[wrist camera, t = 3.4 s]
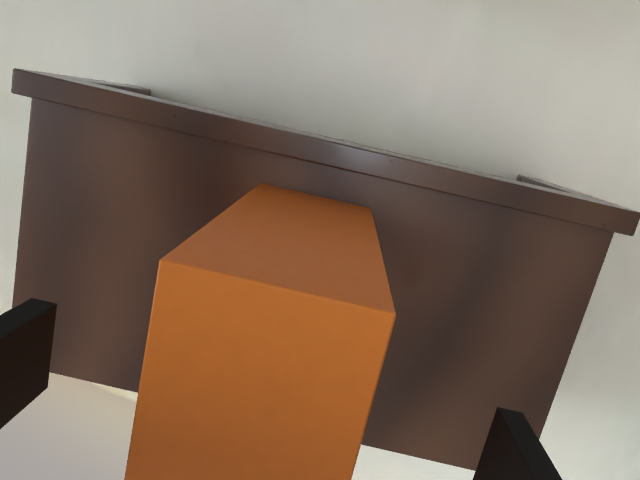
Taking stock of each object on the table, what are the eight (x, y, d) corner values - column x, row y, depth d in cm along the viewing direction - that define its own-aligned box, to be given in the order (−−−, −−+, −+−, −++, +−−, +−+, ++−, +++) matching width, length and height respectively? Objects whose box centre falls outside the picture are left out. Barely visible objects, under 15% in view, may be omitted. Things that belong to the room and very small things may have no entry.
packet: (224, 365, 26) (103, 607, 13) (260, 182, 24) (158, 259, 11) (326, 388, 26) (303, 653, 13) (371, 208, 24) (397, 314, 11)
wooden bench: (98, 296, 36) (-14, 377, 25) (127, 84, 33) (12, 67, 22) (476, 383, 36) (534, 504, 25) (542, 180, 33) (642, 213, 22)
